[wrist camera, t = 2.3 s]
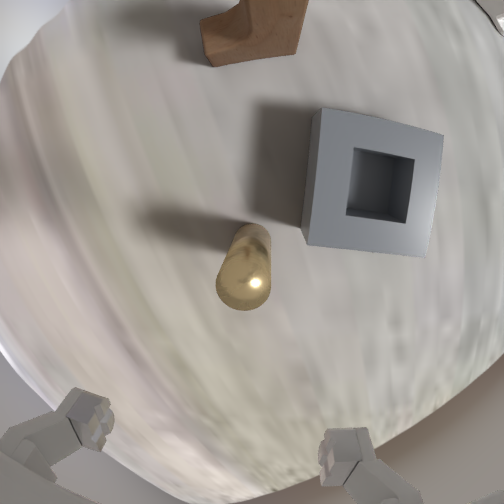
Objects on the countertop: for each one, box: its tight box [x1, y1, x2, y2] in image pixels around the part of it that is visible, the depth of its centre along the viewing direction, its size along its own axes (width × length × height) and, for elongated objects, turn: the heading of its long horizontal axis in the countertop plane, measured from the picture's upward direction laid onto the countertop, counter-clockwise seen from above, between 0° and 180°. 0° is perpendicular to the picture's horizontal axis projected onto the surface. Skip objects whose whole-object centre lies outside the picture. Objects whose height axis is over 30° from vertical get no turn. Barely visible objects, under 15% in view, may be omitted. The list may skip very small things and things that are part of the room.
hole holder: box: [301, 108, 444, 258], centre depth 28 cm, size 12×12×6 cm
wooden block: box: [200, 0, 309, 67], centre depth 18 cm, size 9×4×18 cm, turn 100°
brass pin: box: [216, 224, 271, 311], centre depth 28 cm, size 4×4×12 cm
